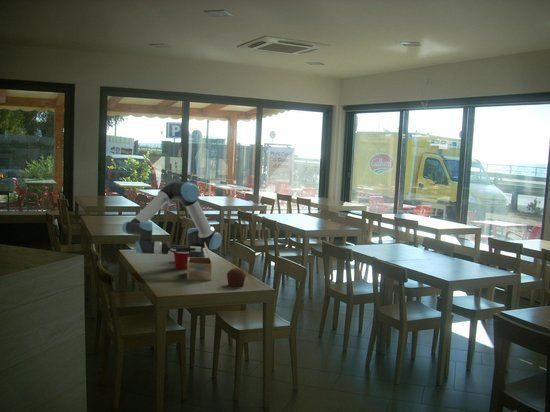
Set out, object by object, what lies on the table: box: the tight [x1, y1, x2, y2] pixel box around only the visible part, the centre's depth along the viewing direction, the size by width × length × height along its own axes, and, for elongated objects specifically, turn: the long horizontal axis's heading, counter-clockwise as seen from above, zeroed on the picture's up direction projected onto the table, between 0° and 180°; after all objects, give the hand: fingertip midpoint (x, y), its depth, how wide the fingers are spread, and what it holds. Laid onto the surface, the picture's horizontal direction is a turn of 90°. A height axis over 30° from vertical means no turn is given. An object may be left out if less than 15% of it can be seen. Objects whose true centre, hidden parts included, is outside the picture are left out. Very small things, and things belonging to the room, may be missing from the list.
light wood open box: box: [186, 257, 213, 281], centre depth 353 cm, size 21×14×10 cm
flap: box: [204, 242, 213, 264], centre depth 353 cm, size 19×1×10 cm, turn 7°
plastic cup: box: [173, 252, 189, 270], centre depth 373 cm, size 11×11×12 cm
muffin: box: [226, 267, 247, 288], centre depth 334 cm, size 12×11×10 cm
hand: (200, 249), depth 352 cm, fingers closed
